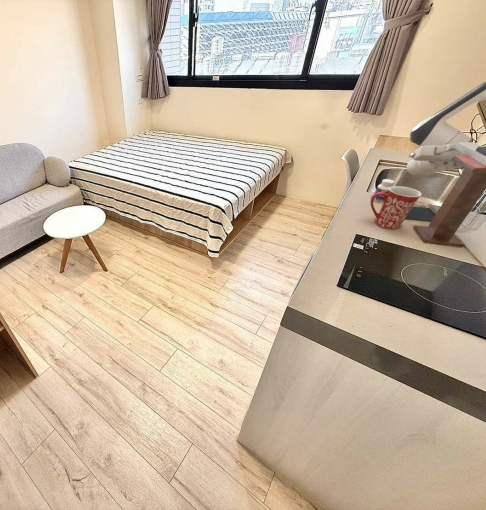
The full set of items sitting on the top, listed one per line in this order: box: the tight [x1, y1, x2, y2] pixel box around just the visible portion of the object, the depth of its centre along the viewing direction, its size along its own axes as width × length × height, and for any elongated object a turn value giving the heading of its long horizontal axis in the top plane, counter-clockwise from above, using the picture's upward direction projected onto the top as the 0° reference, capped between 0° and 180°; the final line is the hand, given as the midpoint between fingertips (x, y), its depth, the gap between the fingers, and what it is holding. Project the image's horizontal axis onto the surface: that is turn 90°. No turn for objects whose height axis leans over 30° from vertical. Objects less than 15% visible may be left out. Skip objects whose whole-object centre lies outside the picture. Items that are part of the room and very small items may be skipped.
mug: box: [370, 185, 422, 230], centre depth 101 cm, size 13×9×14 cm
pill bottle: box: [373, 178, 395, 204], centre depth 117 cm, size 5×5×9 cm
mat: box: [404, 205, 436, 223], centre depth 109 cm, size 12×12×1 cm
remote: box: [455, 141, 486, 166], centre depth 83 cm, size 4×18×3 cm, turn 159°
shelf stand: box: [412, 155, 486, 248], centre depth 88 cm, size 10×12×26 cm
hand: (470, 147), depth 87 cm, fingers open, 8 cm apart
